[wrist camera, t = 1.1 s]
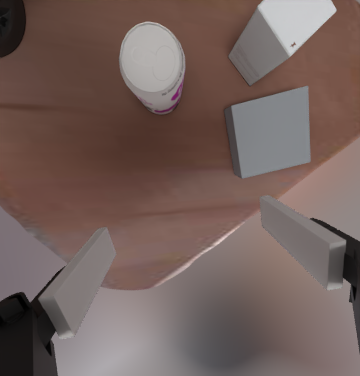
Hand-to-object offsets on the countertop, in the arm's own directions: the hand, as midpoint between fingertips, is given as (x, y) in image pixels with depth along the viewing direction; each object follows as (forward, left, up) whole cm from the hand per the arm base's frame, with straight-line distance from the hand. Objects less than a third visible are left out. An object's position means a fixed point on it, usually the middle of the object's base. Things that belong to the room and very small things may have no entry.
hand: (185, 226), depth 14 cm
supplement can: (-16, 0, -25) cm, 30 cm away
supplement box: (-18, +19, -25) cm, 37 cm away
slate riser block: (-3, +19, -26) cm, 32 cm away
